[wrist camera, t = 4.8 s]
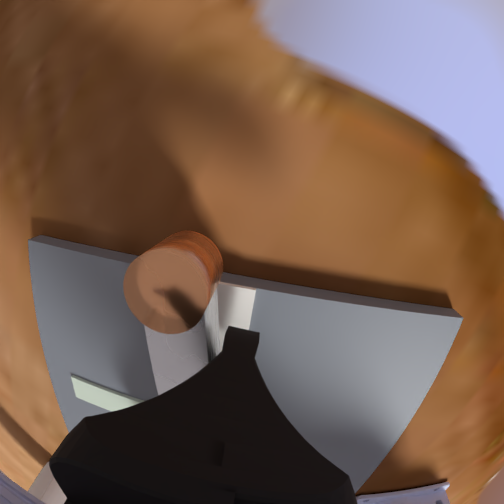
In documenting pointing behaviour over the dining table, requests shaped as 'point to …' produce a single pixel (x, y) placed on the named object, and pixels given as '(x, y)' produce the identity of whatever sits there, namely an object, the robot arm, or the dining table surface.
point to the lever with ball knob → (177, 304)
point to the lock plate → (267, 357)
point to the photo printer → (47, 487)
